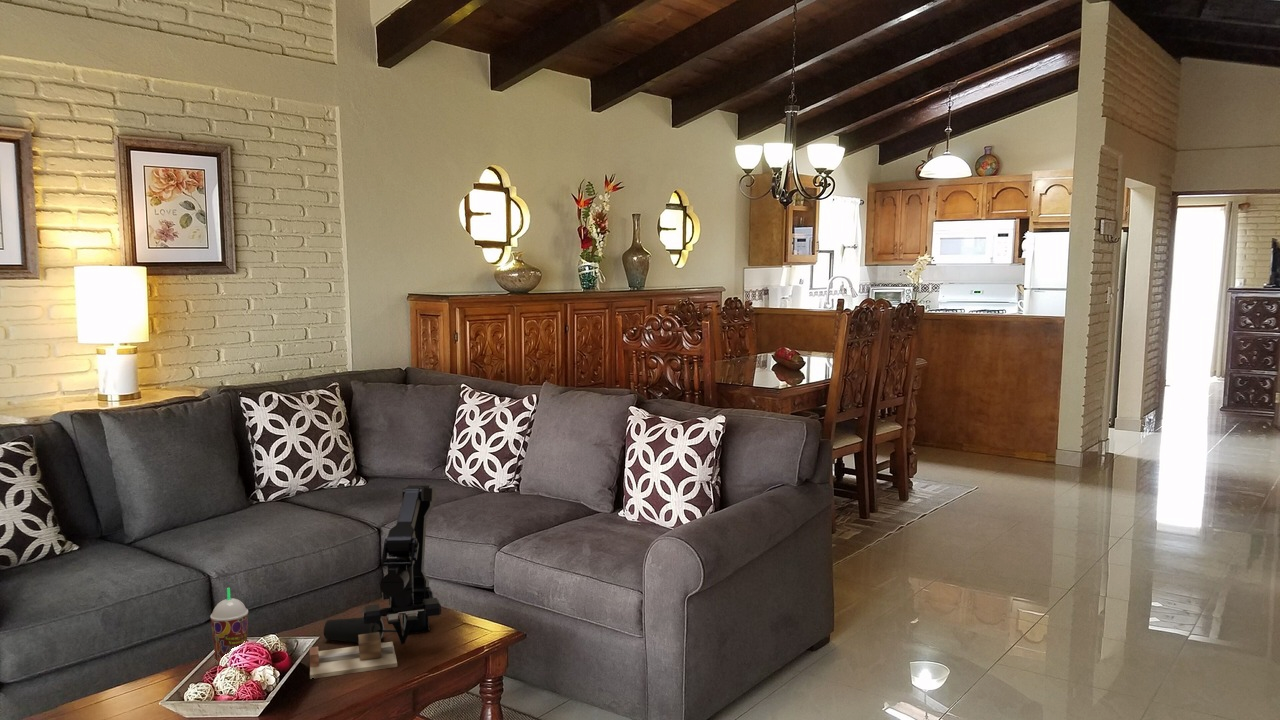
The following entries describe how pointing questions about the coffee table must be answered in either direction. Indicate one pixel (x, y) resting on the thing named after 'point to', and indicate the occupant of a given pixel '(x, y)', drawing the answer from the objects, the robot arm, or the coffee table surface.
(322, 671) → the board
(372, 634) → the block
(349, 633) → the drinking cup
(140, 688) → the coffee table surface
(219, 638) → the smoothie
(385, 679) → the coffee table surface
